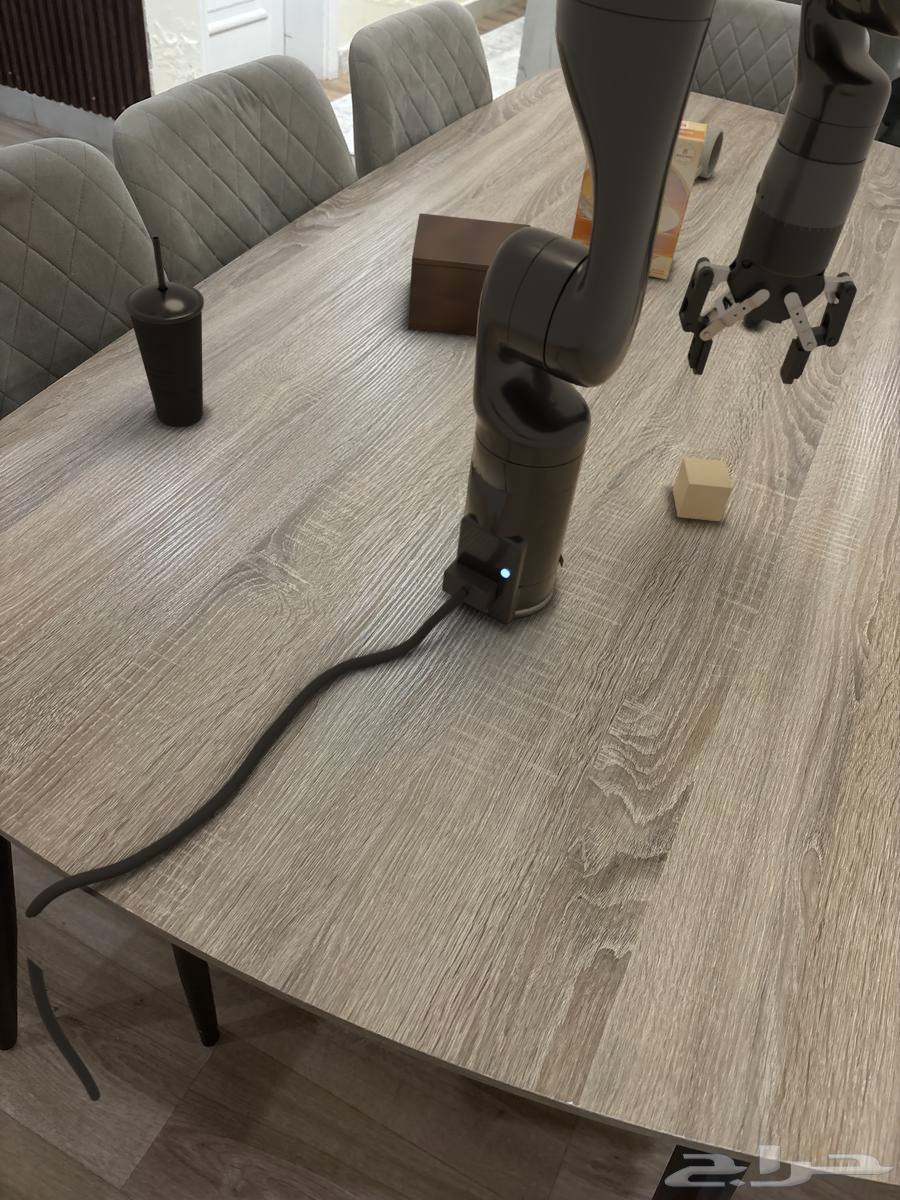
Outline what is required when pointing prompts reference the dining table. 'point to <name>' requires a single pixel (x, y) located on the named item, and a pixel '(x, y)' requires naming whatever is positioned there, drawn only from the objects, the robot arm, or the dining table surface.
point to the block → (702, 489)
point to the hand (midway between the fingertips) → (741, 375)
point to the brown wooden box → (452, 270)
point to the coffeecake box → (673, 200)
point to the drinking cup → (170, 344)
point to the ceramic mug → (710, 152)
